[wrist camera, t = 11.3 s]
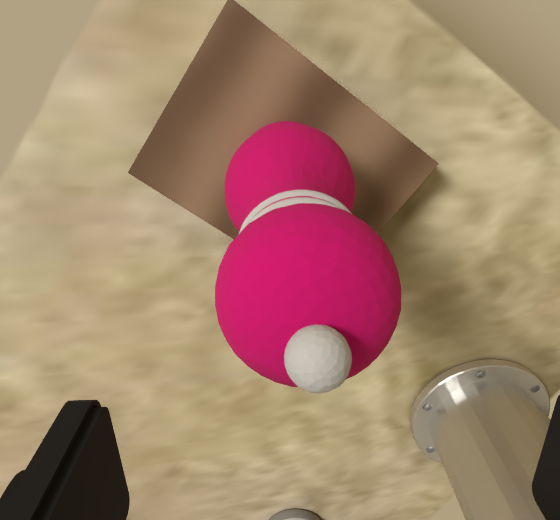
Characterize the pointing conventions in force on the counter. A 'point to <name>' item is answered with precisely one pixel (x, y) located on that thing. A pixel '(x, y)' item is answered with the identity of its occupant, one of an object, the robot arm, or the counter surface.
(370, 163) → the walnut base
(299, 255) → the pepper mill
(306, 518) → the travel mug
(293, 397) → the counter surface
